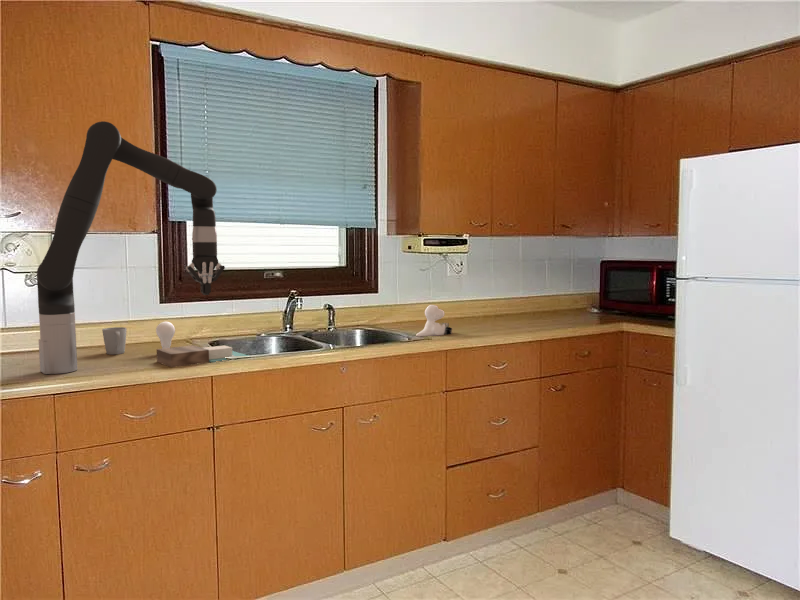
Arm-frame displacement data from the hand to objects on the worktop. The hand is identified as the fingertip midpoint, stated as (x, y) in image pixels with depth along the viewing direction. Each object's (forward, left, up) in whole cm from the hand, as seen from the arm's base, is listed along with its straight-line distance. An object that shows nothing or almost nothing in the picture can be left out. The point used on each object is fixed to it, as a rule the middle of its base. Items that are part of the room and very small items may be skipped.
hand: (205, 294), depth 204 cm
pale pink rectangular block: (+2, -1, -21) cm, 21 cm away
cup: (-19, +30, -21) cm, 41 cm away
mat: (+5, 0, -21) cm, 21 cm away
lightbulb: (-6, +19, -21) cm, 29 cm away
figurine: (+93, -10, -21) cm, 96 cm away
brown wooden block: (-8, 0, -21) cm, 23 cm away
